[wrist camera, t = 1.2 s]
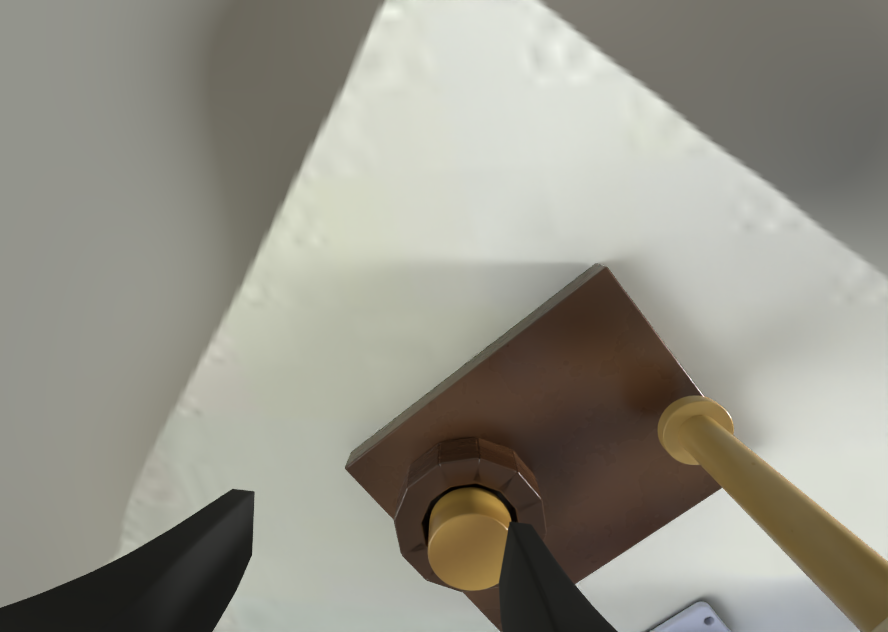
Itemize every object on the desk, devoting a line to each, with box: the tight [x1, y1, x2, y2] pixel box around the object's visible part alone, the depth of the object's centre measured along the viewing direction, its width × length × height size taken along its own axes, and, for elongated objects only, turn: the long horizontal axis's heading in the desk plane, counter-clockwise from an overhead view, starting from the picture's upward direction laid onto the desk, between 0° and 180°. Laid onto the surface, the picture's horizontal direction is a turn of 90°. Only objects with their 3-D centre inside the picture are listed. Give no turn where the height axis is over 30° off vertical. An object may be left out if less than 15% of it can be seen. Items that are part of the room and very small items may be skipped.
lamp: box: [658, 396, 888, 632], centre depth 12 cm, size 6×6×17 cm
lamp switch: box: [428, 487, 512, 591], centre depth 20 cm, size 4×4×2 cm
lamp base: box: [345, 263, 735, 632], centre depth 22 cm, size 12×15×4 cm
